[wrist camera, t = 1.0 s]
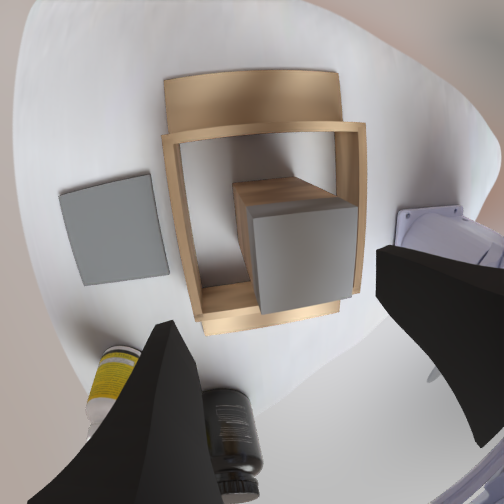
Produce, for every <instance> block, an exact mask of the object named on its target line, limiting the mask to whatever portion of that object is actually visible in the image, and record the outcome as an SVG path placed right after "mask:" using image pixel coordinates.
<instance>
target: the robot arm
mask: <svg viewBox="0 0 504 504" xmlns="http://www.w3.org/2000/svg"><path fill="white" fill-rule="evenodd" d="M407 213H408V215H407ZM406 215H407V217H406ZM462 215H463V207H462V206H461V205H452V206H440V207H428V208H416V209H405V210H400V211H399V213H398V216H397V228H396V238H395V246H394V245H388V246H385V247H383V248H380V249H377V250H376V297H377V299H378V300H379V302H380V303H381V304H382V306H383V307H384V309H385V310H386V311H387V312H388V314H389V315H390V316H391V317H392V318H393V319H394V320H395V322H396V323H397V324H398V325H399V326H400V327H401V328H402V329H403V330H404V331H405V332H406V333H407V334H408V335H409V336H410V337H411V338H412V339H413V340H414V341H415V342H416V343H417V344H418V345H419V346H420V348H422V350H423V351H424V352H425V353H426V354H427V355H428V356H429V357H430V359H431V360H432V361H433V362H434V364H435V365H436V367H437V368H438V369H439V371H440V372H441V374H442V375H443V377H444V378H445V380H446V381H447V383H448V384H449V386H450V388H451V389H452V391H453V393H454V394H455V396H456V398H457V400H458V402H459V404H460V406H461V408H462V409H463V412H464V414H465V416H466V418H467V421H468V423H469V425H470V428H471V431H472V433H473V436H474V439H475V442H476V443H477V444H478V445H479V447H480V448H482V447H484V446H485V445H486V444H487V443H488V442H489V441H490V440H491V439H492V438H493V437H494V436H495V435H496V434H497V433H498V432H499V431H500V430H501V429H502V428H503V427H504V237H503V236H502V235H501V234H499V233H498V232H496V231H494V230H492V229H490V228H488V227H486V226H484V225H482V224H479V223H477V222H475V221H473V220H471V219H469V218H467V217H464V216H462ZM486 482H487V483H486ZM485 483H486V484H485ZM484 484H485V486H484V488H485V491H483V492H482V493H481V494H480V495H479V496H477V497H476V498H475V499H474V500H473V501H471V502H470V503H469V504H504V438H503V439H502V440H501V441H500V442H499V443H498V444H497V445H496V446H495V447H494V448H493V449H492V450H491V452H489V453H488V455H487V456H485V457H484V458H483V459H482V460H481V461H480V462H479V463H478V464H477V465H476V466H475V467H474V468H473V469H472V470H470V471H469V472H468V473H467V474H466V475H465V476H464V477H462V478H461V479H460V480H459V481H458V482H456V483H455V484H454V485H453V486H452V487H450V488H449V489H448V490H446V491H445V492H444V493H442V494H441V495H440V496H438V497H437V498H436V499H434V500H433V501H431V502H430V503H428V504H462V503H463V502H465V501H466V500H467V499H468V498H469V497H471V496H472V495H473V494H474V493H475V492H476V491H477V490H478V489H480V488H481V487H482V486H483V485H484ZM27 504H224V502H223V499H222V496H221V493H220V490H219V487H218V484H217V481H216V478H215V474H214V470H213V467H212V463H211V459H210V455H209V450H208V444H207V436H206V428H205V419H204V410H203V401H202V392H201V385H200V381H199V376H198V372H197V367H196V363H195V361H194V359H193V357H192V355H191V353H190V351H189V350H188V348H187V346H186V344H185V342H184V340H183V338H182V337H181V335H180V333H179V331H178V329H177V327H176V325H175V323H174V321H173V320H170V321H167V322H164V323H160V324H157V325H155V327H154V329H153V330H152V332H151V334H150V336H149V338H148V340H147V342H146V344H145V346H144V348H143V351H142V353H141V355H140V357H139V359H138V361H137V363H136V364H135V366H134V368H133V370H132V372H131V374H130V376H129V378H128V380H127V381H126V383H125V385H124V387H123V389H122V390H121V392H120V394H119V396H118V398H117V399H116V401H115V403H114V404H113V406H112V408H111V409H110V411H109V412H108V414H107V415H106V417H105V418H104V420H103V421H102V423H101V424H100V426H99V427H98V429H97V430H96V431H95V433H94V434H93V435H92V436H91V438H90V439H89V440H88V441H87V443H86V444H85V445H84V447H83V448H82V449H81V450H80V452H79V453H78V454H77V455H76V456H75V458H74V459H73V460H72V461H71V462H70V463H69V464H68V465H67V466H66V467H65V468H64V469H63V470H62V471H61V473H59V474H58V475H57V477H55V478H54V479H53V480H52V481H51V482H50V483H49V484H48V485H46V486H45V487H44V488H43V489H42V490H41V491H39V492H38V493H37V494H36V495H34V496H33V497H32V498H31V499H29V500H28V502H27Z"/></svg>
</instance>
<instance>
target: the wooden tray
mask: <svg viewBox="0 0 504 504" xmlns="http://www.w3.org/2000/svg"><path fill="white" fill-rule="evenodd" d="M164 90H165V102H166V113H167V123H168V132H169V134H166V135H161V137H162V146H163V154H164V161H165V169H166V175H167V182H168V189H169V195H170V201H171V207H172V213H173V219H174V224H175V230H176V235H177V241H178V246H179V251H180V256H181V261H182V265H183V270H184V275H185V279H186V284H187V288H188V293H189V297H190V301H191V306H192V310H193V314H194V318H195V322H200V321H202V325H203V329H204V333H205V336H210V335H218V334H225V333H231V332H238V331H244V330H251V329H257V328H262V327H268V326H274V325H279V324H285V323H290V322H295V321H300V320H305V319H310V318H314V317H319V316H324V315H328V314H333V313H337V312H339V308H340V300H337V301H333V302H328V303H323V304H318V305H313V306H308V307H303V308H298V309H293V310H288V311H282V312H276V313H271V314H265V315H261V312H260V309H259V306H258V303H257V299H256V296H255V293H254V290H253V287H252V284H251V281H248V282H242V283H235V284H228V285H221V286H214V287H207V288H202V284H201V279H200V274H199V268H198V263H197V258H196V252H195V246H194V241H193V235H192V229H191V223H190V217H189V210H188V204H187V197H186V190H185V183H184V176H183V169H182V161H181V153H180V145H179V143H185V142H192V141H199V140H206V139H214V138H222V137H231V136H242V135H253V134H267V133H285V132H334V133H335V153H336V191H337V197H339V198H341V199H343V200H345V201H347V202H349V203H351V204H353V205H355V206H357V207H358V221H357V242H356V257H355V269H354V280H353V290H352V294H357V293H360V287H361V278H362V269H363V258H364V246H365V231H366V210H367V142H366V123H360V122H343V118H342V105H341V94H340V84H339V75H338V73H332V72H320V71H302V70H253V71H234V72H222V73H212V74H203V75H195V76H188V77H181V78H175V79H169V80H164Z"/></svg>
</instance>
